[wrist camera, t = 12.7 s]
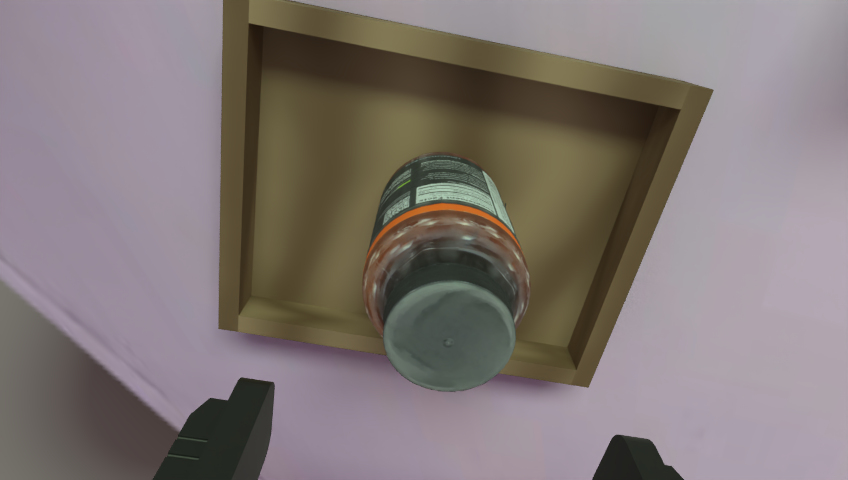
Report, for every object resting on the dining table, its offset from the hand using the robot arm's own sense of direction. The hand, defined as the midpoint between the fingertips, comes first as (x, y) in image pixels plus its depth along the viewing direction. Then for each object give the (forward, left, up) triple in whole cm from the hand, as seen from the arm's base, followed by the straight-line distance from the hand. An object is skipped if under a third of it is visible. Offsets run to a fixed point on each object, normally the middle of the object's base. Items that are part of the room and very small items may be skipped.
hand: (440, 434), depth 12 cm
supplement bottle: (0, 0, -15) cm, 15 cm away
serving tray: (0, 0, -16) cm, 16 cm away
